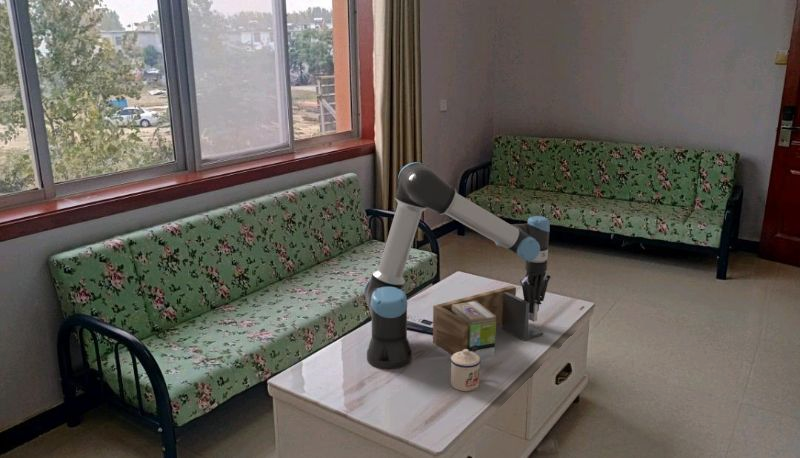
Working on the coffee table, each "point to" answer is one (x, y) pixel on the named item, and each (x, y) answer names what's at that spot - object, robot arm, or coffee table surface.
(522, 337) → the bookend
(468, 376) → the teacup with lid
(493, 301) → the shelf
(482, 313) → the tea box
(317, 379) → the coffee table surface
